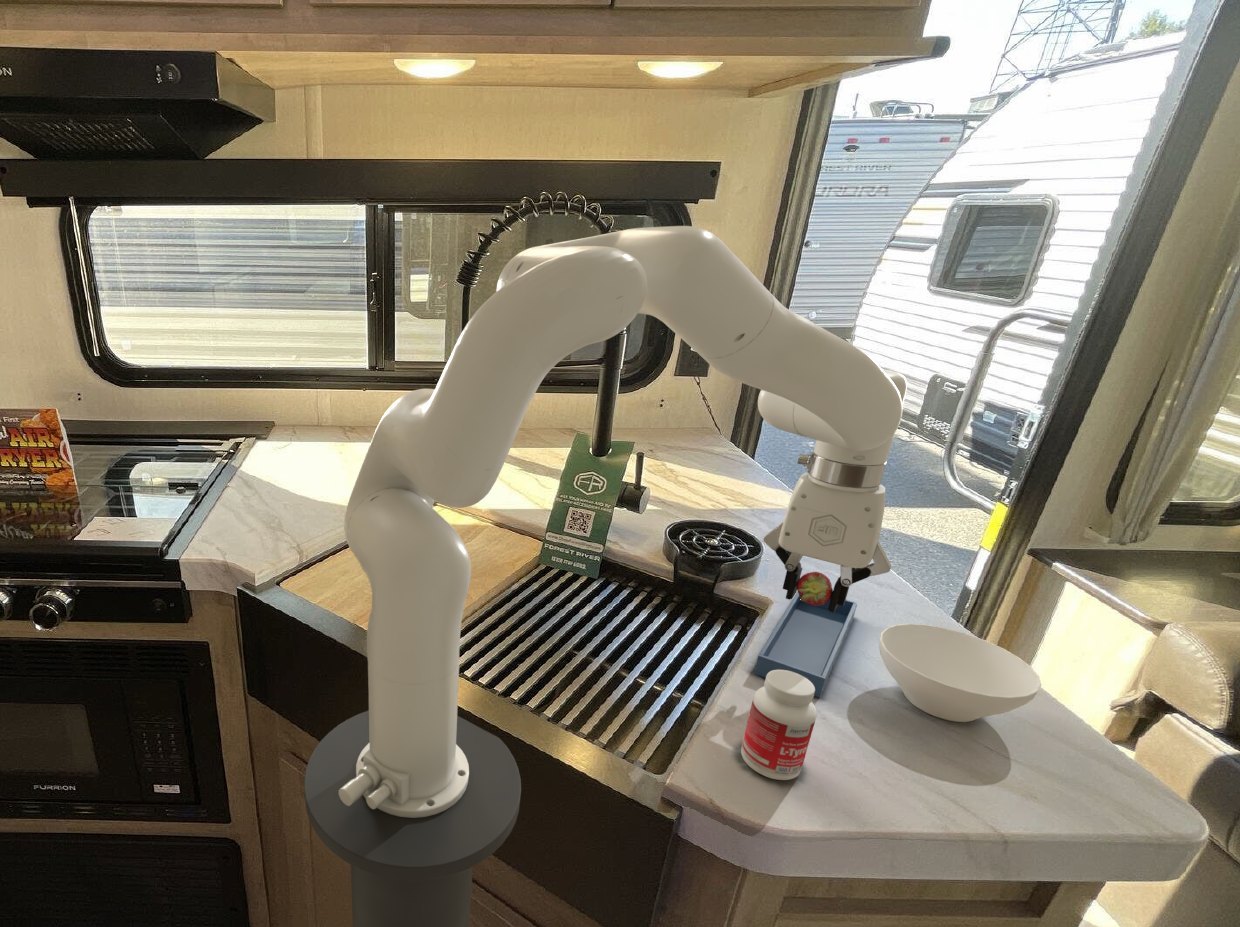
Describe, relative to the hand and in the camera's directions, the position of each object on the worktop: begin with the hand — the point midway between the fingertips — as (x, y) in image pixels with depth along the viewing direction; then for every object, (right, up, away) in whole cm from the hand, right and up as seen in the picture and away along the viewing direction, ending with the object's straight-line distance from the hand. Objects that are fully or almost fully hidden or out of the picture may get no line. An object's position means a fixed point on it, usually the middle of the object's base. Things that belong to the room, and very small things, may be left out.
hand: (811, 600), depth 87 cm
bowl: (+15, -13, -2) cm, 20 cm away
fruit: (0, -1, 0) cm, 1 cm away
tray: (+6, -8, +11) cm, 15 cm away
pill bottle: (-12, -17, -12) cm, 24 cm away
